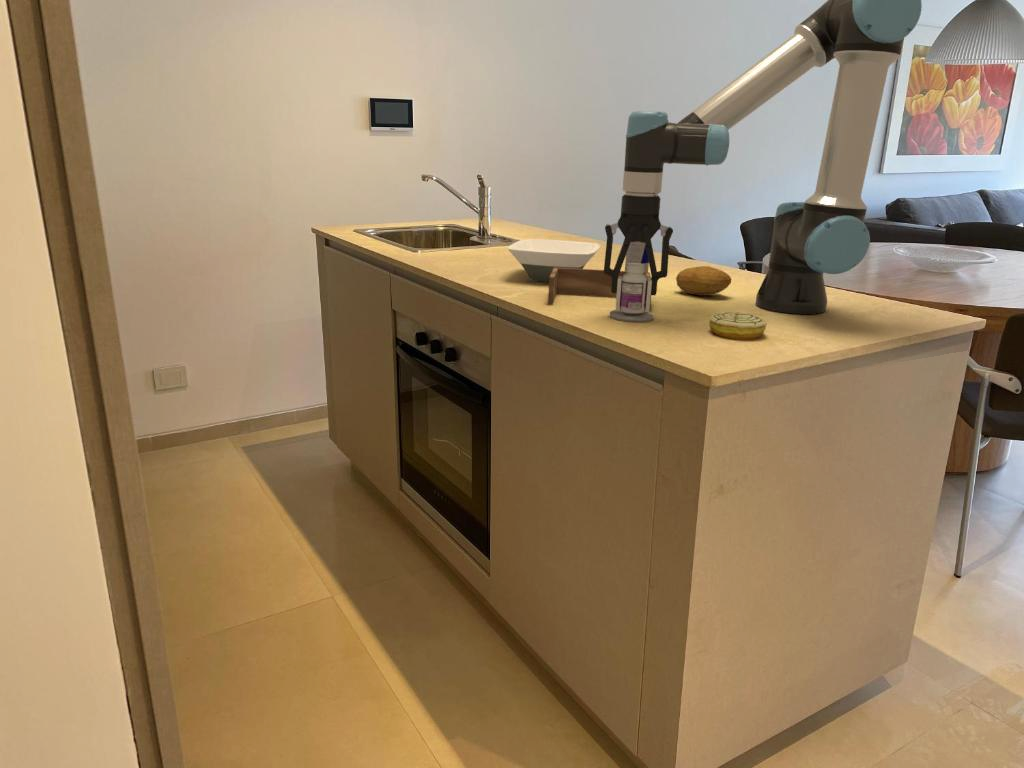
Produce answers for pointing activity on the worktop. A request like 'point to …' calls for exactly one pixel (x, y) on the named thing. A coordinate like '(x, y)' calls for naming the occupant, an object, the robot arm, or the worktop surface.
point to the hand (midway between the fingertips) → (632, 309)
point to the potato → (703, 280)
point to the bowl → (551, 256)
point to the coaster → (631, 316)
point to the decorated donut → (737, 325)
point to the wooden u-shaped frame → (581, 283)
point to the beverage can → (637, 254)
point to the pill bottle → (633, 289)
